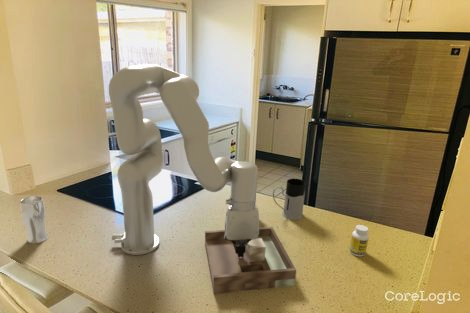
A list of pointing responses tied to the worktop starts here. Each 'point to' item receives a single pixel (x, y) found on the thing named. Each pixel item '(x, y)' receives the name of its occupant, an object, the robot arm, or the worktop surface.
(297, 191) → the white and black mug
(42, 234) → the beer glass
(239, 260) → the box
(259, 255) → the block
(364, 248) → the supplement bottle
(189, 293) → the worktop surface
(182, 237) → the worktop surface
